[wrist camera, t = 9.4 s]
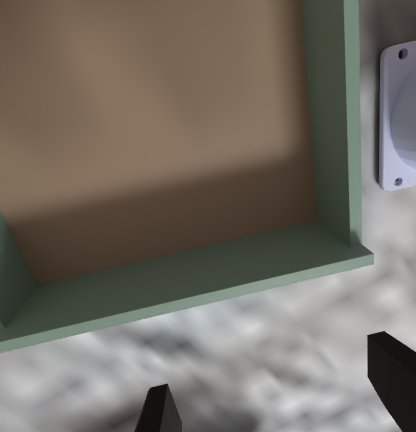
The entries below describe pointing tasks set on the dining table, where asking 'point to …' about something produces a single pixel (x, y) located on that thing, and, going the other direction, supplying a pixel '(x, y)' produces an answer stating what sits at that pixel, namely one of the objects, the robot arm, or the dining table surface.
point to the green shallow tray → (172, 156)
